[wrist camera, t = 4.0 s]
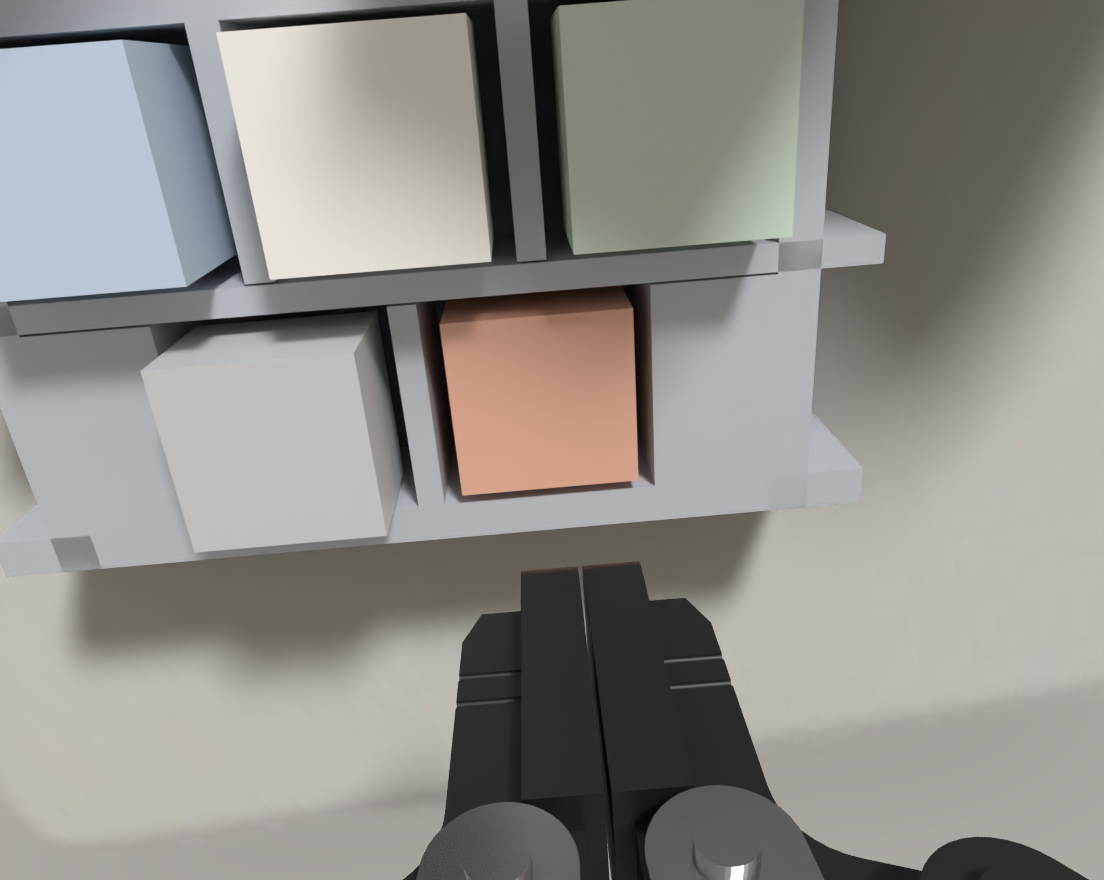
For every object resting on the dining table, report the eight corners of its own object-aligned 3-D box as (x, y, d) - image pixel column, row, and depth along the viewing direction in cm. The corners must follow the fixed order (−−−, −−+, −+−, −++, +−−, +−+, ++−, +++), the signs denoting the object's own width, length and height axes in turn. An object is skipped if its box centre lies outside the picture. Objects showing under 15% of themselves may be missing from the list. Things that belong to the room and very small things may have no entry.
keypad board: (832, -113, 18) (925, -166, 14) (798, 463, 23) (856, 540, 20) (-91, -43, 17) (-267, -77, 13) (104, 522, 23) (22, 614, 19)
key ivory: (473, 23, 16) (466, 12, 13) (494, 232, 17) (491, 261, 15) (266, 39, 16) (216, 32, 13) (307, 247, 17) (270, 279, 15)
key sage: (753, 1, 16) (805, -14, 13) (748, 211, 17) (792, 237, 15) (549, 17, 16) (558, 5, 13) (563, 227, 17) (574, 254, 15)
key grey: (377, 311, 18) (353, 353, 15) (403, 471, 20) (386, 535, 17) (196, 326, 18) (140, 371, 15) (238, 485, 20) (193, 552, 17)
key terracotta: (615, 275, 19) (632, 308, 17) (621, 427, 21) (638, 480, 18) (449, 289, 19) (439, 324, 17) (468, 441, 21) (462, 495, 18)
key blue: (189, 46, 16) (122, 39, 13) (237, 253, 17) (186, 286, 15) (-19, 62, 16) (-131, 59, 13) (49, 268, 17) (-38, 304, 14)
